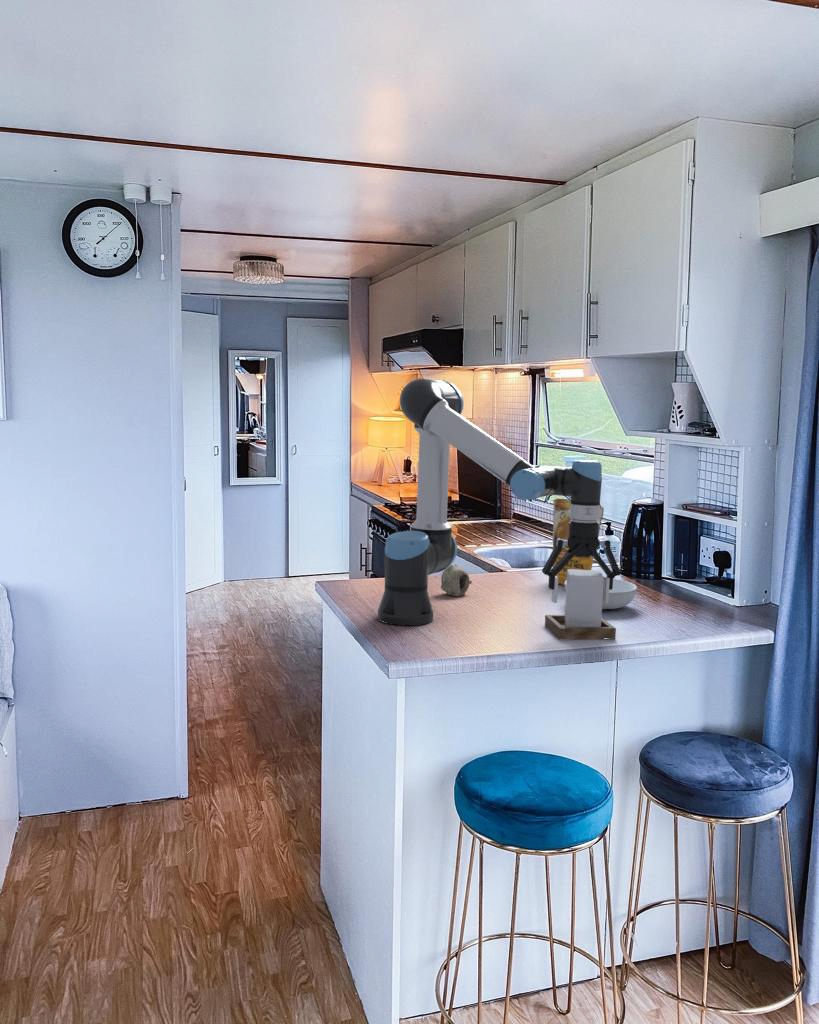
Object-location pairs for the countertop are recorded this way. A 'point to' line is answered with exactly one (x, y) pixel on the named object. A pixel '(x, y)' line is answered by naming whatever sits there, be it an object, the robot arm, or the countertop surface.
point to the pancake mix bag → (562, 533)
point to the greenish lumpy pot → (455, 581)
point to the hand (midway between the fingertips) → (579, 601)
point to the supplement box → (583, 598)
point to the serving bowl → (619, 594)
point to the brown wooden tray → (578, 629)
